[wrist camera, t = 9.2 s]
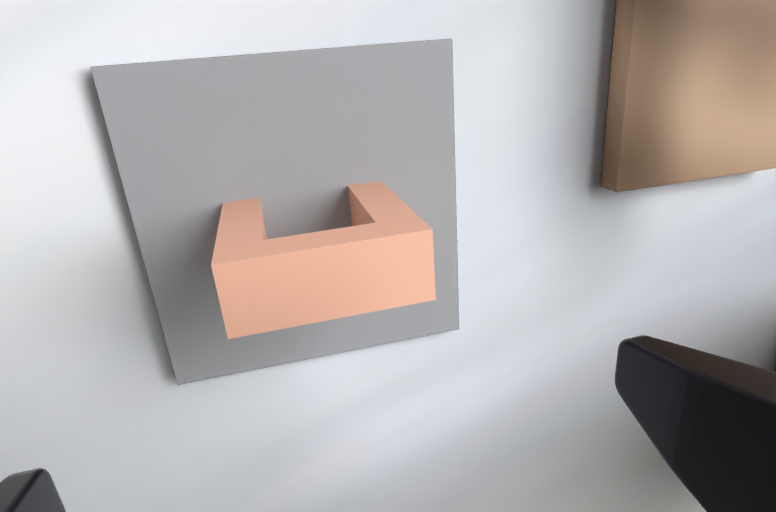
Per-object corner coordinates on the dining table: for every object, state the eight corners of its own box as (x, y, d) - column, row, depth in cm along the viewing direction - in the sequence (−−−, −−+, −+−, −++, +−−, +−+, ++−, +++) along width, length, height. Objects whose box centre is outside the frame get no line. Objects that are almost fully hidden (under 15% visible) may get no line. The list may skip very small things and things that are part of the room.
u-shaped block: (385, 234, 19) (435, 299, 14) (234, 258, 18) (228, 339, 13) (381, 180, 18) (432, 229, 13) (222, 202, 17) (211, 265, 12)
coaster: (453, 322, 22) (458, 329, 21) (179, 375, 19) (177, 385, 19) (446, 39, 17) (452, 38, 17) (95, 66, 15) (90, 66, 15)
